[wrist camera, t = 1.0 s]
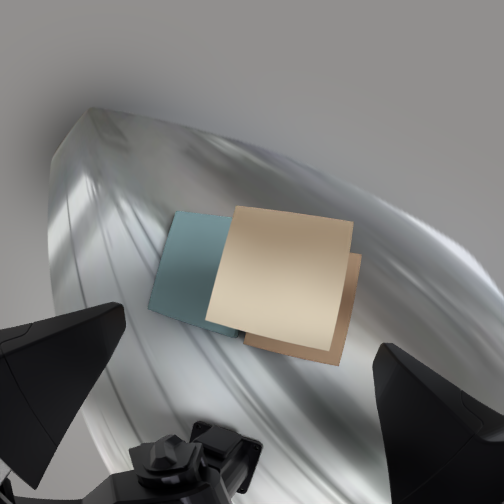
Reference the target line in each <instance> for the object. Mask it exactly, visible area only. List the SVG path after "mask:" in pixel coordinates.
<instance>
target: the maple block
mask: <svg viewBox="0 0 504 504" xmlns="http://www.w3.org/2000/svg"><path fill="white" fill-rule="evenodd" d="M353 223H354V222H350V221H344V220H338V219H332V218H325V217H319V216H312V215H305V214H298V213H291V212H284V211H276V210H268V209H260V208H252V207H244V206H236V207H235V211H234V214H233V218H232V221H231V225H230V228H229V232H228V235H227V239H226V243H225V246H224V250H223V254H222V257H221V261H220V265H219V268H218V272H217V276H216V280H215V283H214V287H213V291H212V295H211V299H210V303H209V306H208V310H207V314H206V318H205V320H207V321H210V322H213V323H217V324H220V325H224V326H227V327H231V328H234V329H238V330H241V331H245V332H249V333H252V334H256V335H260V336H264V337H268V338H272V339H276V340H280V341H284V342H289V343H293V344H297V345H302V346H306V347H311V348H316V349H321V350H326V351H329V350H330V346H331V342H332V338H333V334H334V329H335V325H336V321H337V316H338V311H339V307H340V302H341V297H342V292H343V287H344V281H345V276H346V270H347V264H348V258H349V252H350V245H351V238H352V231H353Z"/></svg>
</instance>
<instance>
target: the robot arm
mask: <svg viewBox="0 0 504 504" xmlns="http://www.w3.org/2000/svg"><path fill="white" fill-rule="evenodd" d="M125 328H126V321H125V313H124V307H123V305H122V304H120V303H116V302H110V303H106V304H102V305H98V306H95V307H91V308H87V309H83V310H79V311H76V312H72V313H68V314H64V315H60V316H56V317H52V318H49V319H45V320H41V321H37V322H34V323H29V324H25V325H20V326H16V327H11V328H6V329H2V330H0V504H232V501H231V498H232V497H233V495H234V494H235V493H236V492H237V493H240V494H245V493H246V492H247V490H248V488H249V485H250V483H251V480H252V477H253V475H254V472H255V469H256V466H257V464H258V461H259V458H260V455H261V452H262V449H263V445H262V444H261V443H260V442H257V441H254V440H251V439H248V438H245V437H242V436H241V435H240V434H238V433H235V432H232V431H229V430H226V429H224V428H221V427H218V426H211V425H209V424H206V423H204V422H202V421H197V422H195V423H194V425H193V429H192V433H191V438H190V442H189V443H186V442H185V441H183V440H181V439H180V438H179V437H177V436H176V435H167V436H165V437H163V438H161V439H160V440H158V441H157V442H156V443H143V444H141V446H137V447H134V448H130V449H129V454H130V457H131V461H132V464H133V467H134V470H130V471H126V472H121V473H115V474H112V475H110V476H109V477H108V478H107V479H105V480H104V481H103V482H102V483H101V484H100V485H99V486H98V487H96V488H95V489H94V490H93V491H92V492H90V493H89V494H88V495H87V496H86V497H84V498H83V499H78V500H50V499H35V498H25V497H17V496H14V495H13V491H12V487H11V482H10V480H9V479H8V478H7V476H8V475H9V473H10V472H11V471H13V472H14V473H15V474H16V475H17V476H18V477H20V478H21V479H22V480H23V481H24V482H25V483H27V484H28V485H29V486H31V487H32V488H33V489H34V490H35V489H37V487H38V485H39V483H40V481H41V479H42V477H43V475H44V473H45V471H46V469H47V467H48V465H49V463H50V461H51V459H52V457H53V455H54V453H55V452H56V450H57V447H58V445H59V444H60V442H61V440H62V438H63V437H64V435H65V433H66V431H67V429H68V428H69V426H70V424H71V422H72V421H73V419H74V417H75V415H76V414H77V412H78V410H79V409H80V407H81V405H82V404H83V402H84V400H85V399H86V397H87V395H88V394H89V392H90V391H91V389H92V387H93V386H94V384H95V382H96V381H97V379H98V378H99V376H100V375H101V373H102V371H103V370H104V368H105V367H106V365H107V363H108V362H109V360H110V358H111V356H112V354H113V352H114V350H115V348H116V346H117V344H118V343H119V341H120V339H121V337H122V335H123V333H124V331H125ZM372 368H373V377H374V386H375V396H376V404H377V409H378V414H379V419H380V424H381V430H382V435H383V441H384V447H385V453H386V459H387V466H388V473H389V481H390V490H391V500H392V504H504V415H502V414H500V413H498V412H496V411H495V410H493V409H491V408H489V407H488V406H486V405H484V404H483V403H481V402H479V401H478V400H476V399H475V398H473V397H472V396H470V395H469V394H467V393H466V392H464V391H463V390H461V389H460V388H458V387H457V386H455V385H454V384H452V383H451V382H449V381H448V380H446V379H445V378H443V377H442V376H441V375H439V374H438V373H436V372H435V371H433V370H432V369H430V368H429V367H427V366H426V365H424V364H423V363H421V362H420V361H418V360H417V359H415V358H414V357H412V356H411V355H410V354H408V353H407V352H405V351H404V350H402V349H401V348H399V347H398V346H396V345H395V344H393V343H382V344H381V345H380V347H379V349H378V352H377V354H376V356H375V359H374V361H373V367H372ZM198 425H200V426H201V428H199V427H198ZM255 446H258V447H259V449H257V448H255ZM240 488H242V489H244V490H241V489H240Z"/></svg>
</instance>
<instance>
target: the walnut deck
mask: <svg viewBox="0 0 504 504" xmlns="http://www.w3.org/2000/svg"><path fill="white" fill-rule="evenodd" d="M361 256H362V255H360V254H355V253H349V258H348V264H347V270H346V276H345V281H344V287H343V292H342V297H341V302H340V307H339V311H338V316H337V321H336V325H335V329H334V334H333V338H332V342H331V346H330V350H329V351H326V350H321V349H316V348H311V347H306V346H302V345H297V344H293V343H289V342H284V341H280V340H276V339H272V338H268V337H264V336H260V335H256V334H252V333H249V332H246V335H245V339H244V343H243V344H246V345H250V346H253V347H257V348H261V349H264V350H268V351H272V352H276V353H280V354H284V355H288V356H293V357H297V358H301V359H306V360H310V361H315V362H320V363H325V364H330V365H335V366H339V363H340V359H341V356H342V352H343V348H344V344H345V340H346V335H347V331H348V327H349V322H350V318H351V313H352V308H353V303H354V298H355V292H356V287H357V281H358V275H359V269H360V263H361Z"/></svg>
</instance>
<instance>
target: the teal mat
mask: <svg viewBox="0 0 504 504" xmlns="http://www.w3.org/2000/svg"><path fill="white" fill-rule="evenodd" d="M231 221H232V218H231V217H223V216H215V215H207V214H199V213H190V212H182V211H176V213H175V216H174V219H173V222H172V225H171V229H170V232H169V235H168V238H167V241H166V244H165V248H164V251H163V254H162V258H161V261H160V264H159V268H158V271H157V275H156V279H155V282H154V286H153V290H152V293H151V297H150V301H149V305H148V309H149V310H152V311H154V312H157V313H160V314H162V315H165V316H168V317H171V318H174V319H177V320H179V321H182V322H185V323H188V324H191V325H194V326H197V327H200V328H204V329H207V330H210V331H213V332H216V333H220V334H223V335H226V336H230V337H233V338H235V337H238V333H239V330H238V329H234V328H231V327H227V326H224V325H220V324H217V323H213V322H210V321H207V320H205V318H206V314H207V310H208V306H209V303H210V299H211V295H212V291H213V287H214V283H215V280H216V276H217V272H218V268H219V265H220V261H221V257H222V254H223V250H224V246H225V243H226V239H227V235H228V232H229V228H230V225H231Z"/></svg>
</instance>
